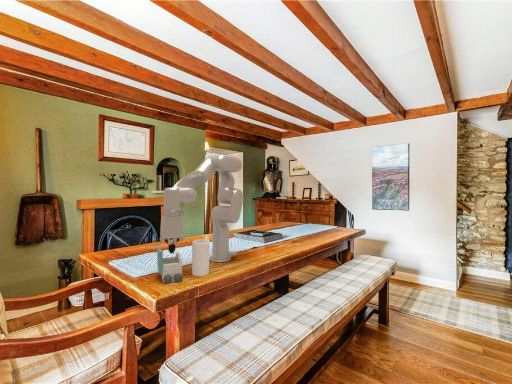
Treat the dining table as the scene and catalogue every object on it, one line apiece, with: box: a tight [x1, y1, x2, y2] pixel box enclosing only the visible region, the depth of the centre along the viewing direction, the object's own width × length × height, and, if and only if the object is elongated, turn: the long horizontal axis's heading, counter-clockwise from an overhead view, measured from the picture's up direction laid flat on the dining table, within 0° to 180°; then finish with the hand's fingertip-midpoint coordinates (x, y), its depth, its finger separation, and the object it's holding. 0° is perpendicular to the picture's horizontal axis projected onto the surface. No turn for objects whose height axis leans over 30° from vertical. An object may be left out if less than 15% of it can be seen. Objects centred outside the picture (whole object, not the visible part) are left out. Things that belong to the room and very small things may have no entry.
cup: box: [191, 239, 210, 277], centre depth 126 cm, size 8×8×16 cm
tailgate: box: [156, 245, 164, 275], centre depth 118 cm, size 2×11×10 cm, turn 25°
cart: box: [160, 251, 183, 284], centre depth 120 cm, size 8×14×10 cm, turn 25°
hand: (171, 252), depth 120 cm, fingers closed
